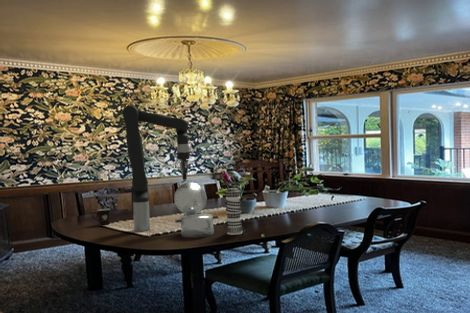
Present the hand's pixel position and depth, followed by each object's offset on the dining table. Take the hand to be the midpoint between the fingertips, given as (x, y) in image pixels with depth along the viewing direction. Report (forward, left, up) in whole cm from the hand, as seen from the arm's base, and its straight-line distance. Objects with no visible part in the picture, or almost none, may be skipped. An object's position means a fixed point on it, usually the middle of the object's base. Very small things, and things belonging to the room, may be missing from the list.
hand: (184, 179), depth 270 cm
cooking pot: (0, -27, -29) cm, 39 cm away
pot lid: (0, -14, -10) cm, 18 cm away
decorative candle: (+19, -36, -29) cm, 50 cm away
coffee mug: (-49, +37, -29) cm, 68 cm away
